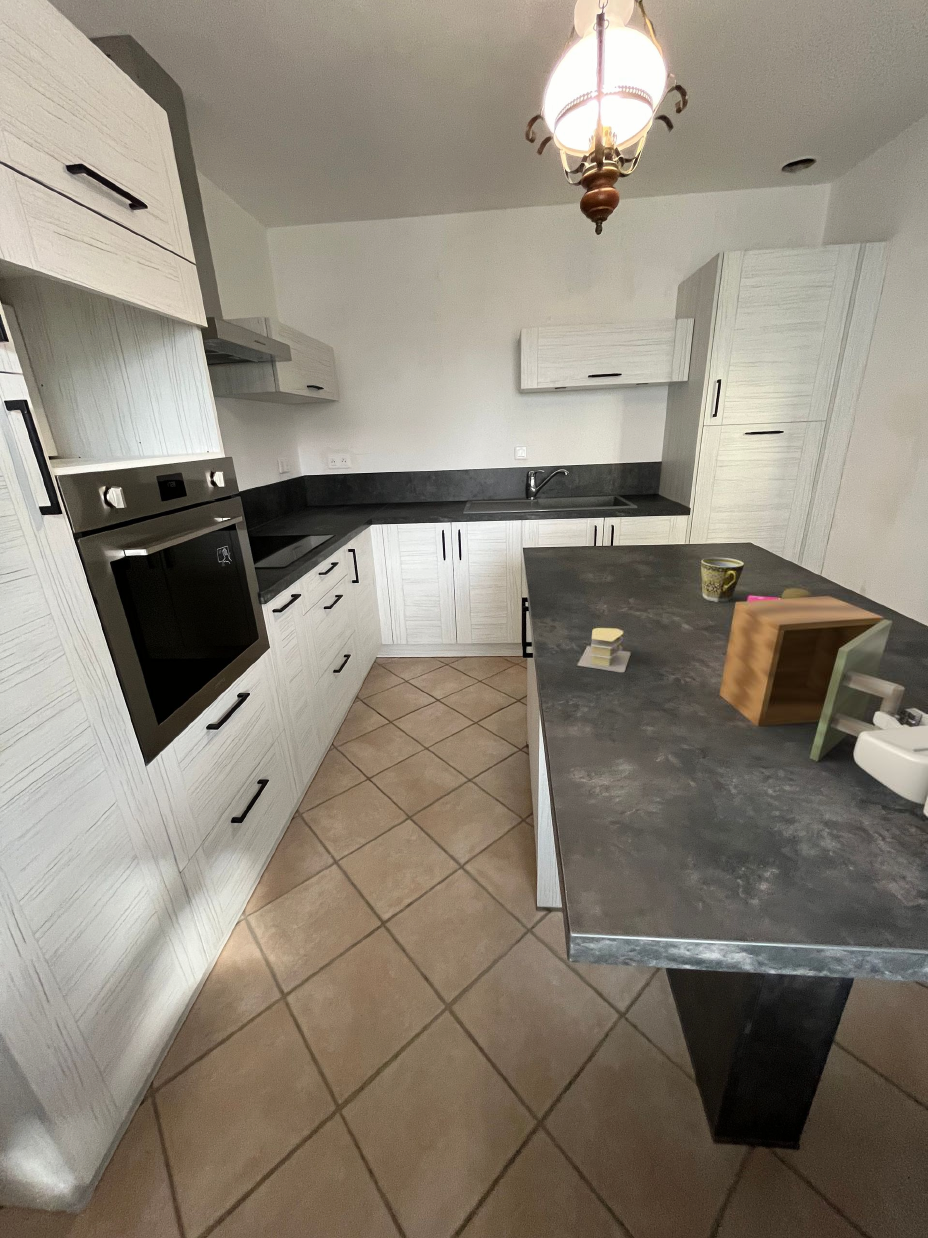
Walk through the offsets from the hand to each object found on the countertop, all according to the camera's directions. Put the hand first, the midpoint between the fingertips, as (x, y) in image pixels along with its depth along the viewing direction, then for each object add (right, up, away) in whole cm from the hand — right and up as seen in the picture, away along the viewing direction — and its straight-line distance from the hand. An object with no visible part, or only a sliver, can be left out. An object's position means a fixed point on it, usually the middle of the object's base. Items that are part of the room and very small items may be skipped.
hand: (892, 714), depth 60 cm
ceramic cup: (+15, +17, +69) cm, 73 cm away
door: (+3, -7, +9) cm, 11 cm away
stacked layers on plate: (-24, +4, +39) cm, 46 cm away
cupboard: (0, -3, +20) cm, 20 cm away
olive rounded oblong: (+17, +7, +45) cm, 49 cm away
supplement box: (+6, +5, +39) cm, 39 cm away
